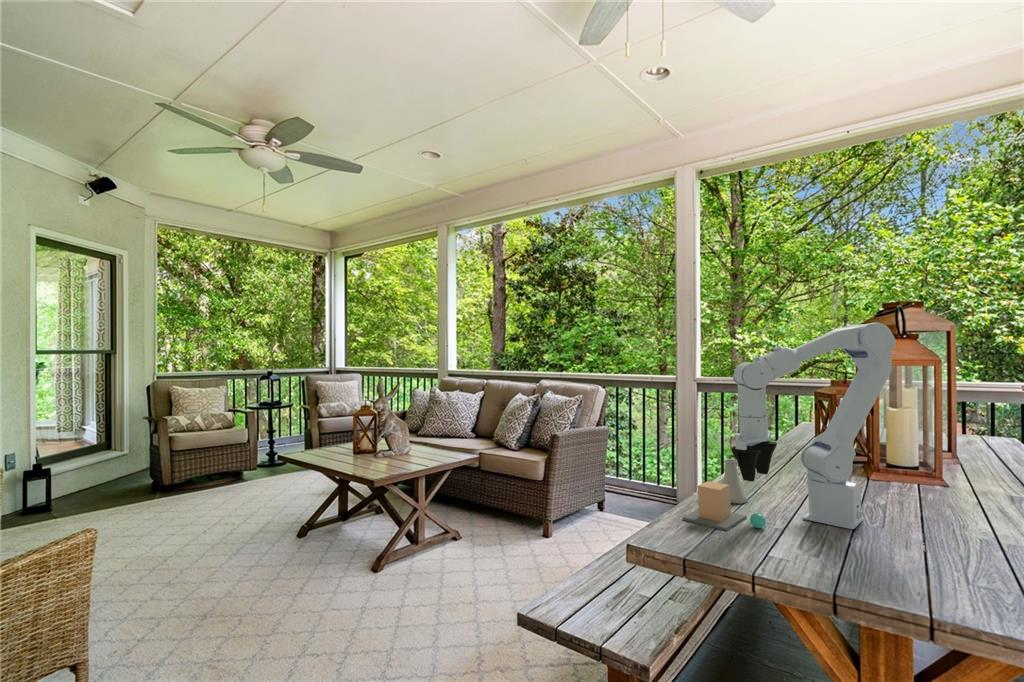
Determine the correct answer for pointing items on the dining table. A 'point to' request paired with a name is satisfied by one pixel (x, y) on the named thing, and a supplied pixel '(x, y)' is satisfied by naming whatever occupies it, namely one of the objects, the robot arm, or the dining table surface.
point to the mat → (722, 525)
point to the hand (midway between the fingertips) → (755, 477)
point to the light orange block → (714, 501)
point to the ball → (757, 520)
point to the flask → (734, 482)
